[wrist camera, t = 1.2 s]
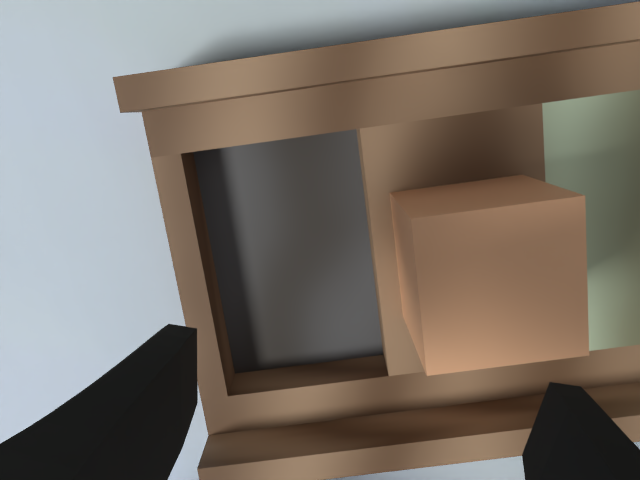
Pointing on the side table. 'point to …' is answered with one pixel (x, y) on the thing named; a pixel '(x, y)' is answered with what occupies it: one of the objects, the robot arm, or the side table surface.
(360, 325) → the trap lane
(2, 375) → the side table surface
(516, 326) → the terracotta block
